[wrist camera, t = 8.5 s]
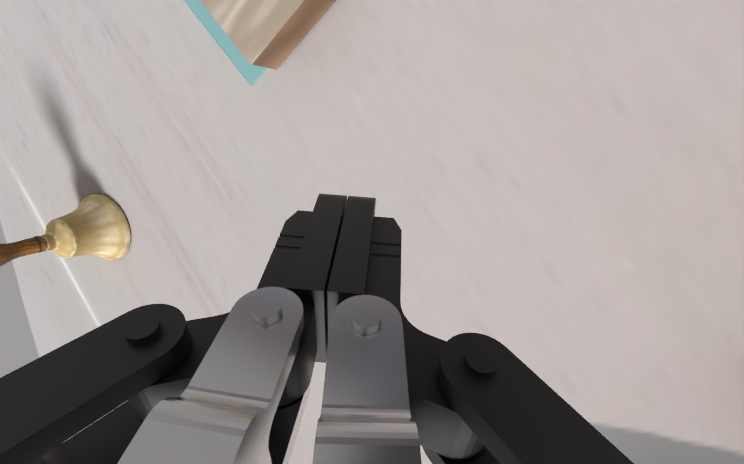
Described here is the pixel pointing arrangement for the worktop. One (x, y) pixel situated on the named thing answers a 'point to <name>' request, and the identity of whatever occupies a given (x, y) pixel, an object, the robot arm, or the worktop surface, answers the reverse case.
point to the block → (266, 25)
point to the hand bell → (79, 233)
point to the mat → (225, 42)
